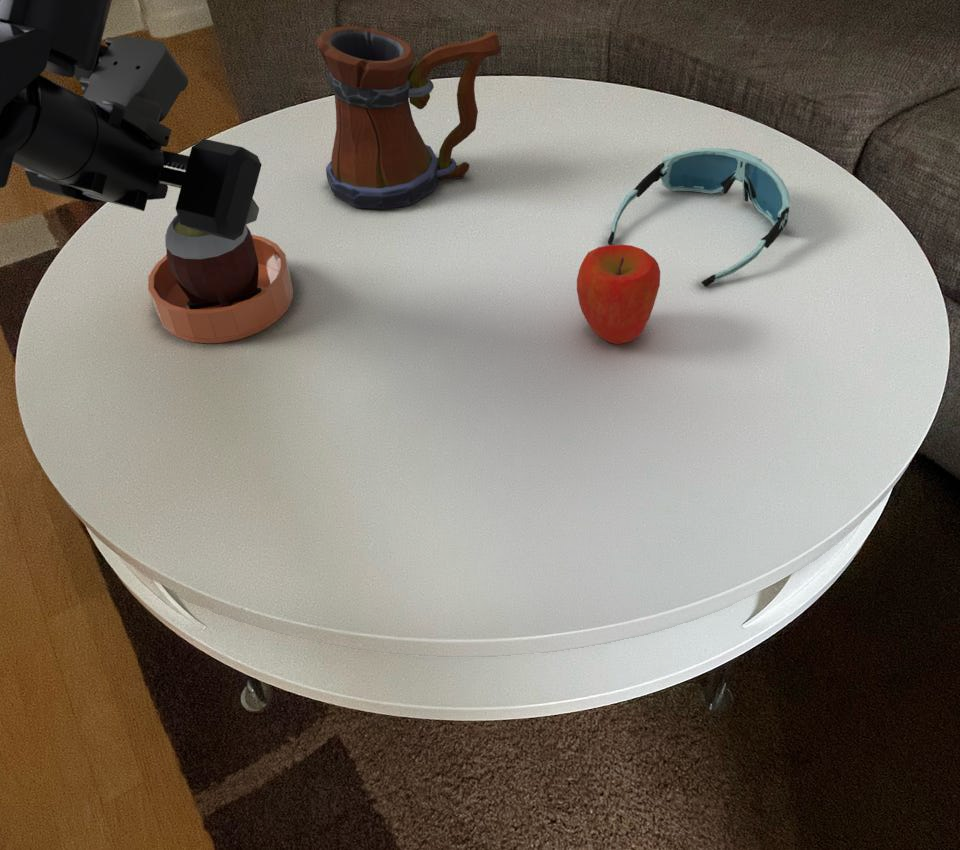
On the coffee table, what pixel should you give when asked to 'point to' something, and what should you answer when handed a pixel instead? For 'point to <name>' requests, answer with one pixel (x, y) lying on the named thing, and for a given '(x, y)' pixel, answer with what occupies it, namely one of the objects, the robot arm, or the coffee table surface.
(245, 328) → the holder
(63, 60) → the robot arm
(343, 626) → the coffee table surface
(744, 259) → the sunglasses
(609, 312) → the apple
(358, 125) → the mug
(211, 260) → the mate gourd
